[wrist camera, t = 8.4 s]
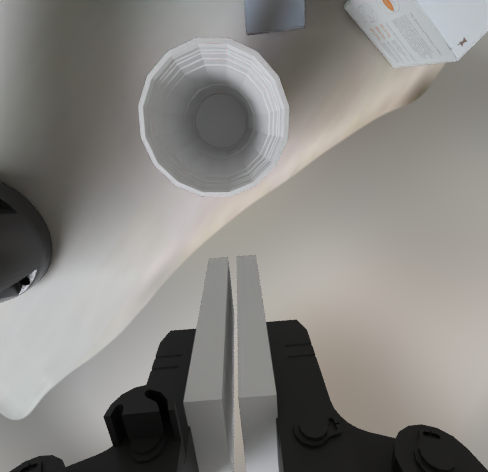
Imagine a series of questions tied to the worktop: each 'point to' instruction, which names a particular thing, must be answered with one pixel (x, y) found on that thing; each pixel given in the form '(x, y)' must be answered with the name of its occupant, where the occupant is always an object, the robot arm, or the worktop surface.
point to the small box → (421, 28)
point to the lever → (273, 15)
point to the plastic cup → (213, 117)
